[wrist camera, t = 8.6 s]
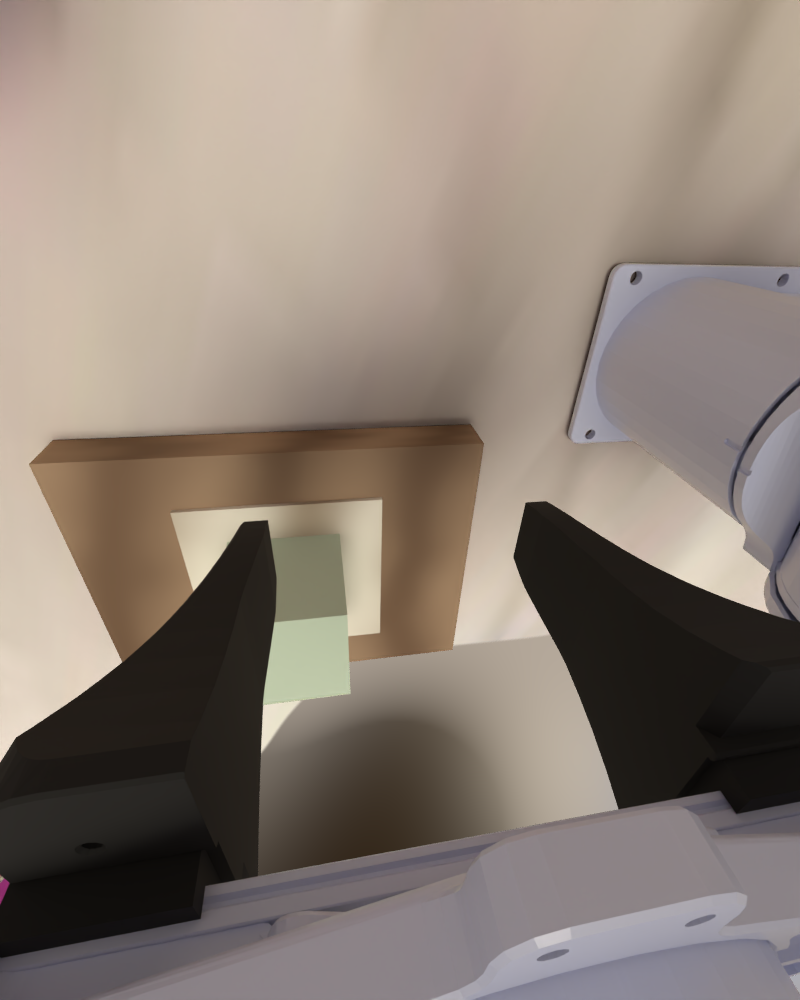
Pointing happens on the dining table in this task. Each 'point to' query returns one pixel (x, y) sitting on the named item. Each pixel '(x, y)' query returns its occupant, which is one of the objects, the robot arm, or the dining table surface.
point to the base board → (272, 520)
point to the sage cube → (308, 621)
